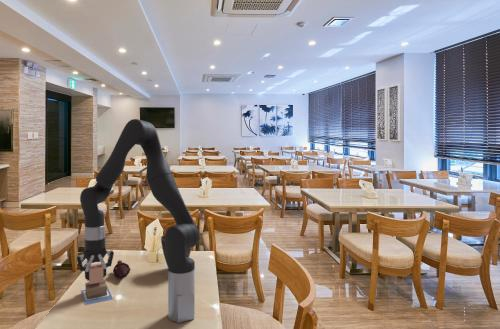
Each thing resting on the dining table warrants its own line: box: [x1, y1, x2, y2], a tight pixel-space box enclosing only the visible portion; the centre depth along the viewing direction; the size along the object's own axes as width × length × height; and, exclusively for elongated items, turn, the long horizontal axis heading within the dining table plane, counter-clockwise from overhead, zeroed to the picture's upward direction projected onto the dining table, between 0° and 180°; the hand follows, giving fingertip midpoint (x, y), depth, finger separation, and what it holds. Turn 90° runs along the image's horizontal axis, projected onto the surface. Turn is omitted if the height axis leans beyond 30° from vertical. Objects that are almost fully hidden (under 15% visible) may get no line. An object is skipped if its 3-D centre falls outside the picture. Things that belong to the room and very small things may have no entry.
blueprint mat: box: [80, 286, 114, 306], centre depth 143 cm, size 14×10×1 cm
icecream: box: [112, 259, 131, 279], centre depth 161 cm, size 7×7×15 cm
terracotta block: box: [88, 262, 105, 284], centre depth 143 cm, size 5×5×6 cm
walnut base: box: [84, 279, 108, 299], centre depth 143 cm, size 7×7×4 cm
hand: (95, 278), depth 143 cm, fingers closed on terracotta block, 5 cm apart
